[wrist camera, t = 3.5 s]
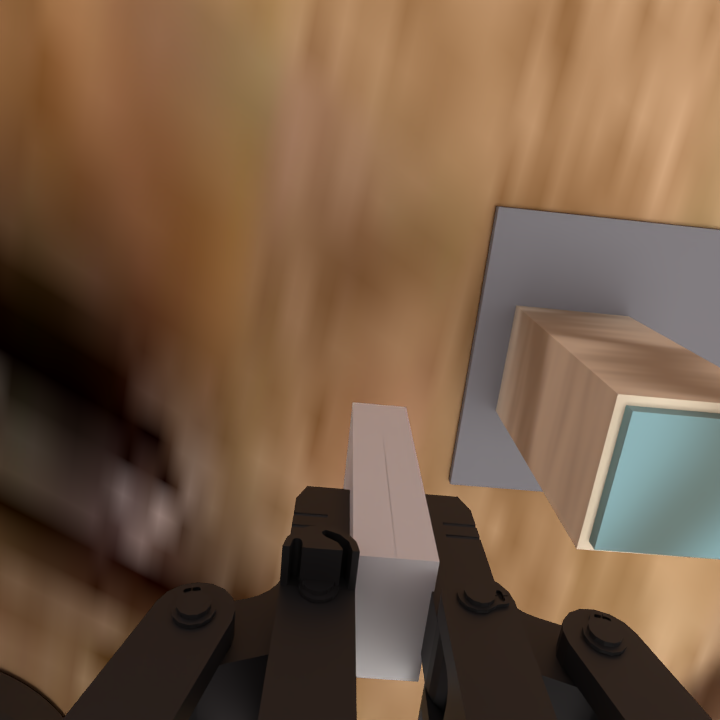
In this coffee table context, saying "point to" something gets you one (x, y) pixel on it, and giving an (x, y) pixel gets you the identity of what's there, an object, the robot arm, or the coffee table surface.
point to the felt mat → (578, 308)
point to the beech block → (616, 431)
